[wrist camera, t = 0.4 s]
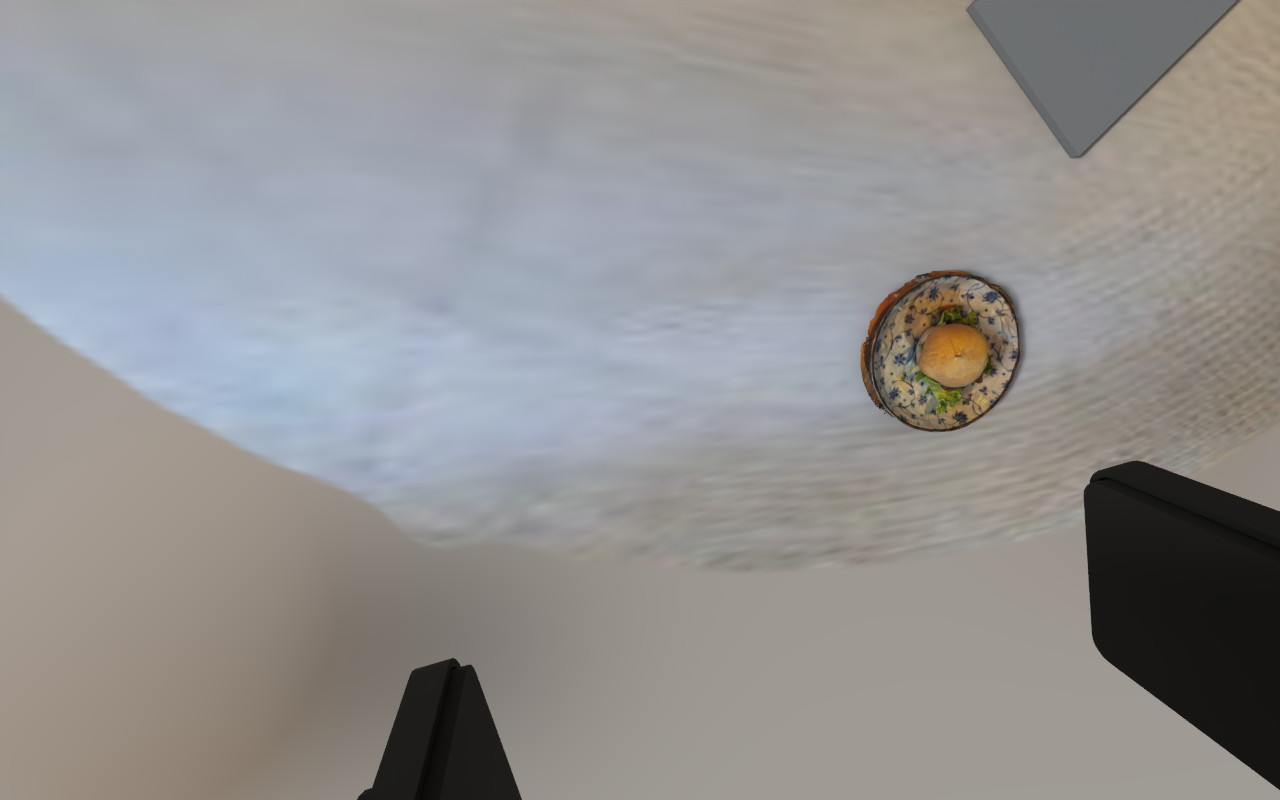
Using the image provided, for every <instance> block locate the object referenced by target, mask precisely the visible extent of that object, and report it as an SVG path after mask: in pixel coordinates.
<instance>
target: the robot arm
mask: <svg viewBox="0 0 1280 800" xmlns="http://www.w3.org/2000/svg"><path fill="white" fill-rule="evenodd" d="M1084 509H1085V525H1086V542H1087V558H1088V575H1089V592H1090V607H1091V608H1090V609H1091V625H1092V636H1093V640H1094V643H1095V645H1096V647H1097V649H1098V650H1099V652H1100V653H1101V654H1102V656H1103V657H1104V658H1105V659H1106V660H1107V661H1108V662H1110V663H1111V664H1112V665H1113V666H1115V667H1116V668H1118V669H1119V670H1120V671H1121V672H1123V673H1124V674H1125V675H1127V676H1128V677H1130V678H1131V679H1132V680H1134V681H1135V682H1136V683H1138V684H1139V685H1140V686H1142V687H1143V688H1144V689H1146V690H1147V691H1148V692H1150V693H1151V694H1152V695H1154V696H1155V697H1156V698H1158V699H1159V700H1160V701H1162V702H1163V703H1165V704H1166V705H1167V706H1168V707H1170V708H1171V709H1172V710H1174V711H1175V712H1176V713H1178V714H1179V715H1180V716H1182V717H1183V718H1184V719H1186V720H1187V721H1188V722H1190V723H1191V724H1192V725H1194V726H1195V727H1196V728H1198V729H1199V730H1200V731H1202V732H1203V733H1204V734H1206V735H1207V736H1208V737H1210V738H1211V739H1212V740H1214V741H1215V742H1216V743H1218V744H1219V745H1220V746H1222V747H1223V748H1224V749H1226V750H1227V751H1228V752H1230V753H1231V754H1232V755H1234V756H1235V757H1236V758H1238V759H1239V760H1240V761H1242V762H1243V763H1244V764H1246V765H1247V766H1248V767H1250V768H1251V769H1252V770H1254V771H1255V772H1256V773H1258V774H1259V775H1261V776H1262V777H1263V778H1264V779H1266V780H1267V781H1268V782H1270V783H1271V784H1272V785H1274V786H1275V787H1276V788H1278V789H1279V790H1280V511H1277V510H1274V509H1272V508H1269V507H1266V506H1263V505H1261V504H1258V503H1255V502H1252V501H1249V500H1247V499H1244V498H1241V497H1239V496H1236V495H1233V494H1230V493H1228V492H1225V491H1222V490H1219V489H1217V488H1214V487H1211V486H1208V485H1206V484H1203V483H1200V482H1197V481H1195V480H1192V479H1189V478H1187V477H1184V476H1181V475H1178V474H1176V473H1173V472H1170V471H1167V470H1165V469H1162V468H1159V467H1156V466H1154V465H1151V464H1148V463H1145V462H1141V461H1131V462H1127V463H1123V464H1120V465H1116V466H1113V467H1110V468H1106V469H1103V470H1099V471H1097V472H1096V473H1094V474H1093V475H1092V477H1091V479H1090V484H1089V485H1087V486H1086V488H1085V490H1084ZM357 800H522V799H521V796H520V793H519V790H518V788H517V785H516V782H515V779H514V777H513V774H512V771H511V768H510V765H509V763H508V760H507V757H506V754H505V752H504V749H503V746H502V743H501V741H500V738H499V735H498V732H497V729H496V727H495V724H494V721H493V718H492V716H491V713H490V710H489V707H488V705H487V702H486V699H485V696H484V694H483V691H482V688H481V686H480V682H479V680H478V677H477V674H476V672H475V670H474V668H473V667H472V665H466V666H463V667H461V666H460V664H459V663H458V661H457V660H456V659H454V658H452V659H449V660H445V661H442V662H438V663H435V664H431V665H428V666H425V667H421V668H418V669H415V670H413V671H412V673H411V675H410V677H409V680H408V683H407V686H406V689H405V692H404V695H403V698H402V701H401V704H400V707H399V710H398V713H397V716H396V719H395V722H394V725H393V728H392V731H391V734H390V736H389V740H388V742H387V745H386V748H385V751H384V754H383V757H382V760H381V763H380V766H379V769H378V772H377V775H376V778H375V781H374V784H373V787H372V788H370V789H367V790H365V791H364V792H363V793H362V794H361V795H360V796H359V797H358V799H357Z"/></svg>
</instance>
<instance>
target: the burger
mask: <svg viewBox="0 0 1280 800" xmlns="http://www.w3.org/2000/svg"><path fill="white" fill-rule="evenodd" d="M868 336H869V337H866V338H867V339H866V342H864V343H863V345H862V348H863V349H862V348H861V371H862V376H863V382H864V384H865V387H866V389H867V392H868V394H869V396H870V397H871V399H872V400H875V401H873V402H875V405H877V404H878V405H879V406H878V405H877V407H879V409H880V408H882V409H883V410H884V409H886V410H887V411H886V410H884V411H886V413H887V412H888V414H889V415H890V416H892V415H893V416H892V417H895V418H896V419H897V420H898V421H900V422H902V423H903V424H905V425H907V426H910V427H912V428H914V429H917V430H923V431H929V432H935V433H936V432H945V431H953V430H956V429H960V428H963V427H966V426H968V425H969V424H971V423H973V422H975V421H976V420H978V419H979V418H981V417H982V416H983V415H984V414H985V413H986V412H987V411H989V410H990V409H991V408H993V407H994V406H995V405H996V404H997V402H998V401H999V400H1000V398H1001V397H1002V396H1003V394H1004V393H1005V391H1006V390H1007V388H1008V386H1009V384H1010V382H1011V381H1012V379H1013V376H1014V373H1015V371H1016V368H1017V365H1018V361H1019V356H1020V351H1019V332H1018V320H1017V318H1016V316H1015V312H1014V306H1013V303H1012V302H1011V300H1010V298H1009V297H1008V295H1007V294H1006V293H1005V292H1004V291H1003V290H1002V289H1001V288H1000V286H997V285H994V284H989V283H987V282H986V281H985V280H984V278H981V277H975V276H972V275H971V274H969V273H966V272H962V271H932V272H931V273H927V274H923V275H918V276H916V278H915V279H913V280H911V281H910V282H907V283H905V285H904V286H903V287H902V288H900V289H899V290H897V291H896V292H894V293H891V294H889V295H888V297H887V298H885V300H884V301H883V302H882V303H881V304H880V305H879V306H878V308H877V311H876V315H875V318H874V319H873V320H872V321H871V322H870V326H869V330H868ZM868 338H869V340H868ZM868 341H869V343H868ZM867 343H868V344H867ZM864 344H865V345H864ZM863 346H864V347H863ZM867 346H868V347H867ZM863 350H864V351H863ZM863 354H864V356H863ZM875 398H876V399H875ZM877 399H878V400H877ZM879 401H880V402H879ZM884 414H885V413H884Z"/></svg>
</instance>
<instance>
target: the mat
mask: <svg viewBox="0 0 1280 800" xmlns="http://www.w3.org/2000/svg"><path fill="white" fill-rule="evenodd" d="M1236 1H1237V0H975V1H974V2H973V3H972V4H971V5H970V6H969V7H968V8H967V9H966V10H967V12H968V13H969V15H970V16H971V18H972V19H973V20H974V22H975V23H976V25H977V26H978V27H979V29H980V30H981V32H982V33H983V35H984V36H985V37H986V39H987V40H988V42H989V43H990V44H991V46H992V47H993V49H994V50H995V52H996V53H997V54H998V56H999V57H1000V59H1001V60H1002V61H1003V63H1004V64H1005V66H1006V67H1007V69H1008V70H1009V71H1010V73H1011V74H1012V76H1013V77H1014V79H1015V80H1016V81H1017V83H1018V84H1019V86H1020V87H1021V88H1022V90H1023V91H1024V93H1025V94H1026V96H1027V97H1028V98H1029V100H1030V101H1031V103H1032V104H1033V105H1034V107H1035V108H1036V110H1037V111H1038V113H1039V114H1040V115H1041V117H1042V118H1043V120H1044V121H1045V122H1046V124H1047V125H1048V127H1049V128H1050V130H1051V131H1052V132H1053V134H1054V135H1055V137H1056V138H1057V139H1058V141H1059V142H1060V144H1061V145H1062V147H1063V148H1064V149H1065V151H1066V152H1067V154H1068V155H1069V156H1070V158H1072V157H1077V156H1080V155H1081V154H1082V153H1083V152H1084V151H1085V150H1086V149H1087V148H1088V147H1089V146H1090V145H1091V144H1092V143H1093V142H1094V141H1095V140H1096V139H1097V138H1098V137H1099V136H1100V135H1101V134H1102V133H1103V132H1104V131H1105V130H1106V129H1107V128H1108V127H1109V126H1110V125H1111V124H1112V123H1113V122H1114V121H1115V120H1116V119H1117V118H1118V117H1119V116H1120V115H1121V114H1122V113H1123V112H1124V111H1125V110H1126V109H1127V108H1129V107H1130V106H1131V105H1132V104H1133V103H1134V102H1135V101H1136V100H1137V99H1138V98H1139V97H1140V96H1141V95H1142V94H1143V93H1144V92H1145V91H1146V90H1147V89H1148V88H1149V87H1150V86H1151V85H1152V84H1153V83H1154V82H1155V81H1156V80H1157V79H1158V78H1159V77H1160V76H1161V75H1162V74H1163V73H1164V72H1165V71H1166V70H1167V69H1168V68H1169V67H1170V66H1171V65H1172V64H1173V63H1174V62H1175V61H1176V60H1177V59H1178V58H1179V57H1180V56H1181V55H1182V54H1183V53H1184V52H1185V51H1186V50H1187V49H1188V48H1189V47H1190V46H1191V45H1192V44H1193V43H1194V42H1195V41H1196V40H1197V39H1198V38H1199V37H1200V36H1201V35H1202V34H1203V33H1204V32H1205V31H1206V30H1207V29H1208V28H1209V27H1210V26H1211V25H1212V24H1213V23H1215V22H1216V21H1217V20H1218V19H1219V18H1220V17H1221V16H1222V15H1223V14H1224V13H1225V12H1226V11H1227V10H1228V9H1229V8H1230V7H1231V6H1232V5H1233V4H1234V3H1235V2H1236Z"/></svg>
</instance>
